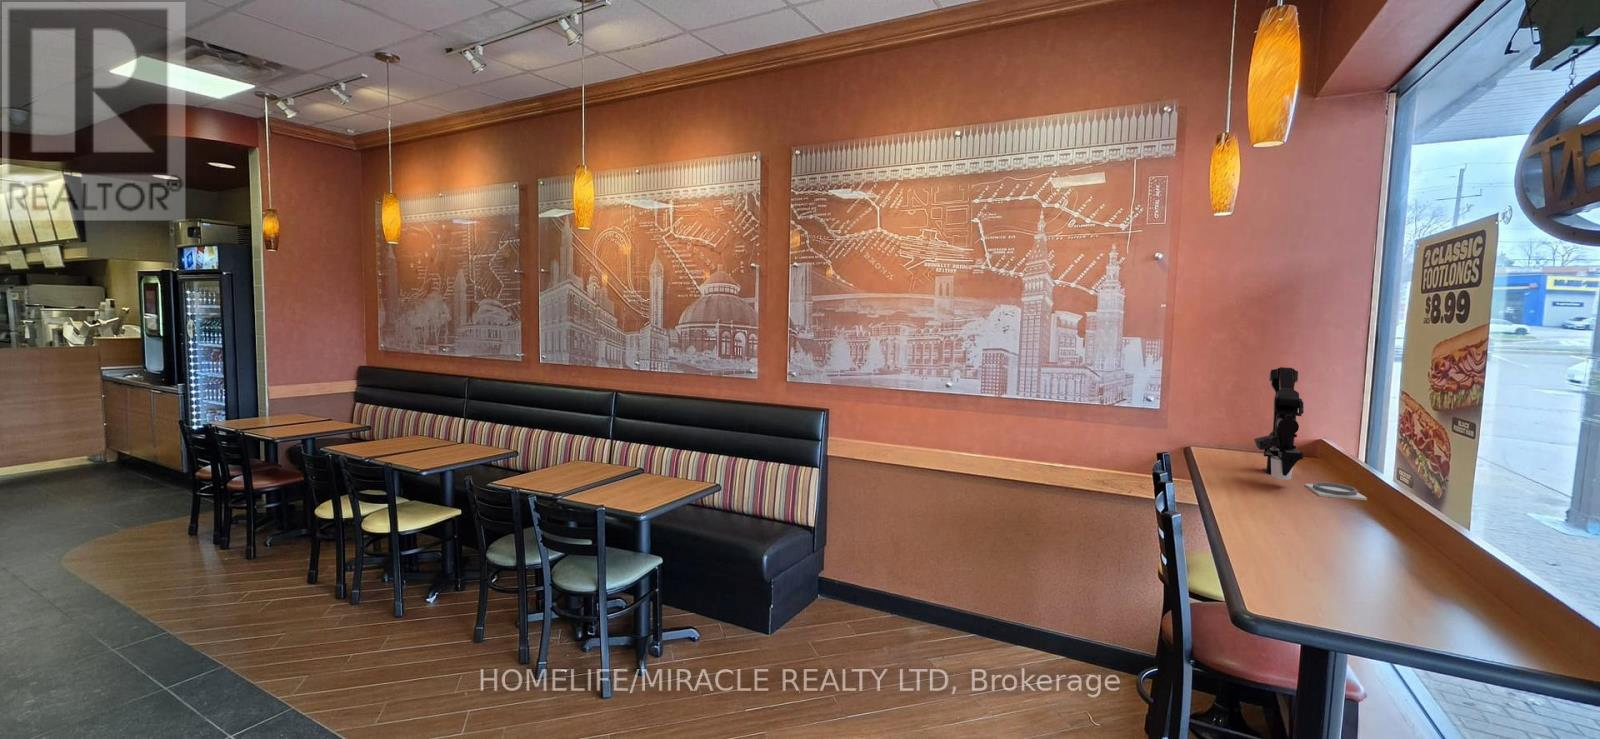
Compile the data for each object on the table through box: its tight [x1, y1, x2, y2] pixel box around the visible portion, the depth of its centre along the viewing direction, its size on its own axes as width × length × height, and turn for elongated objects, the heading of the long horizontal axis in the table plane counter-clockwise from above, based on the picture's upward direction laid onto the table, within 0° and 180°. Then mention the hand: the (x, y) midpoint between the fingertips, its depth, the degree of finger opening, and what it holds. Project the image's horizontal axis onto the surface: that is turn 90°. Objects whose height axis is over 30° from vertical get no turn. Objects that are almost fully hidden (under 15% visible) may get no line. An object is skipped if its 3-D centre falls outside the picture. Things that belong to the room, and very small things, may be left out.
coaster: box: [1304, 481, 1368, 501], centre depth 226 cm, size 13×13×2 cm
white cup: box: [1270, 456, 1294, 481], centre depth 232 cm, size 7×7×7 cm
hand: (1281, 473), depth 232 cm, fingers closed on white cup, 6 cm apart
